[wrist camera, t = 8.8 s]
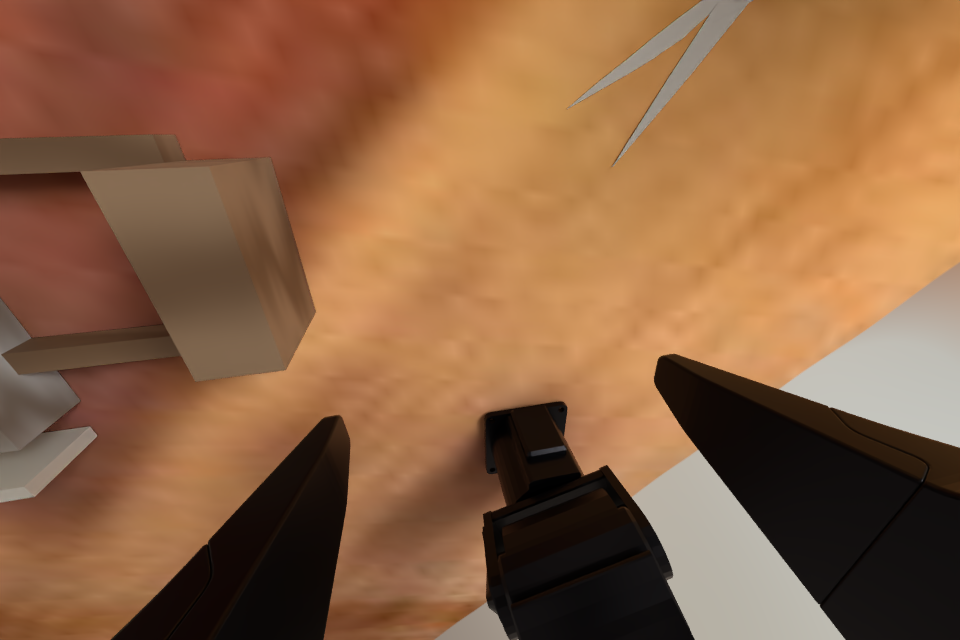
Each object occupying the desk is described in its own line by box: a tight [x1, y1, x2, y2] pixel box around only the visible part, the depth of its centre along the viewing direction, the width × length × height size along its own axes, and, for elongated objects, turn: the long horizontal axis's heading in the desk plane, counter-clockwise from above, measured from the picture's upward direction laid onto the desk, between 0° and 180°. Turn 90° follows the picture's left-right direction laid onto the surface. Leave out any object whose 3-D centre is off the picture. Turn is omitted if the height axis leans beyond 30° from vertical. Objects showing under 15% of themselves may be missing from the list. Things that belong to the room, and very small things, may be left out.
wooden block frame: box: [0, 135, 316, 453], centre depth 14 cm, size 16×16×6 cm
